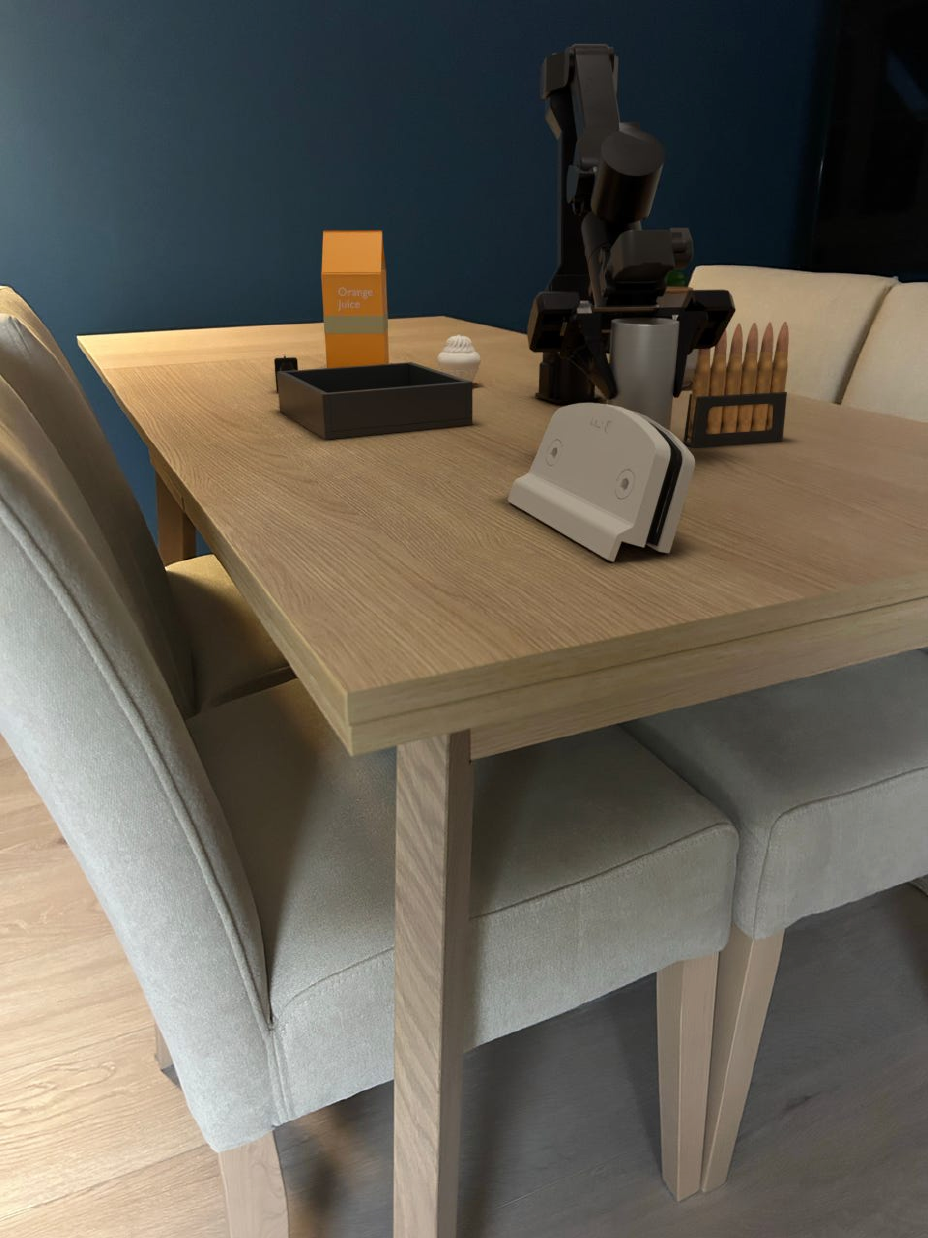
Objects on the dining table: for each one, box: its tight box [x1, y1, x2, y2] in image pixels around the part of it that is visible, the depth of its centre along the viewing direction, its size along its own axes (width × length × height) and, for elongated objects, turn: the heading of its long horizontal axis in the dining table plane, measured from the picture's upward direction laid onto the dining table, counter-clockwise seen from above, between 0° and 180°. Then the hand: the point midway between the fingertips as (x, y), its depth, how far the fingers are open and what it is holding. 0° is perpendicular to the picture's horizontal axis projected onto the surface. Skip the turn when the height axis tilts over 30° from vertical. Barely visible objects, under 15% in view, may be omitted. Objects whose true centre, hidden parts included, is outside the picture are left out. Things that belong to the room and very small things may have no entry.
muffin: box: [436, 333, 482, 383], centre depth 130 cm, size 6×6×7 cm
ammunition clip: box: [682, 321, 790, 448], centre depth 96 cm, size 11×2×12 cm, turn 105°
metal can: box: [606, 318, 679, 432], centre depth 86 cm, size 6×6×13 cm
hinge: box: [507, 402, 696, 563], centre depth 71 cm, size 17×5×10 cm, turn 23°
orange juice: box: [320, 229, 390, 368], centre depth 140 cm, size 8×9×20 cm
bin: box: [277, 361, 474, 441], centre depth 110 cm, size 18×18×5 cm
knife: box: [273, 354, 299, 392], centre depth 129 cm, size 31×3×4 cm, turn 8°
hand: (644, 395), depth 85 cm, fingers closed on metal can, 6 cm apart
